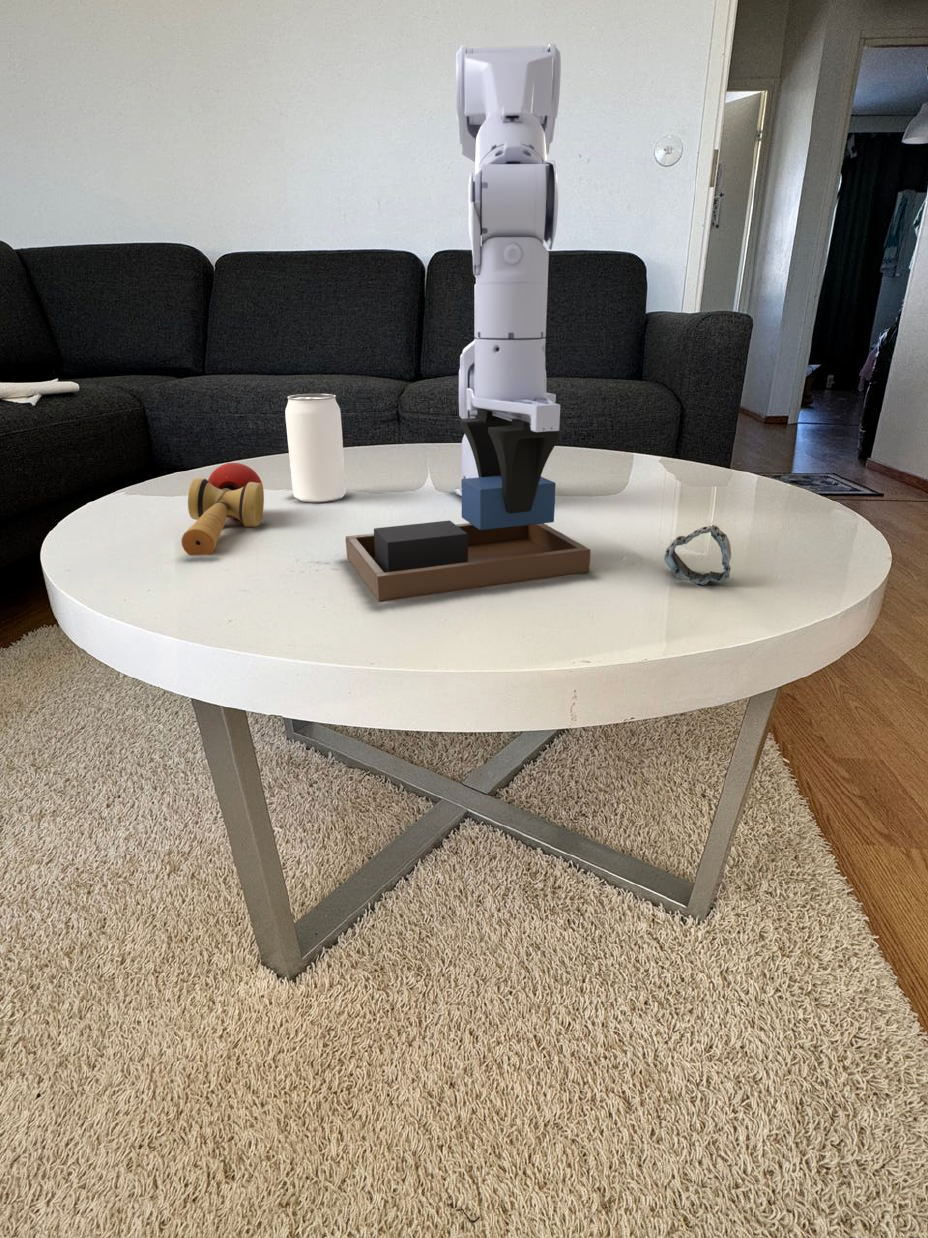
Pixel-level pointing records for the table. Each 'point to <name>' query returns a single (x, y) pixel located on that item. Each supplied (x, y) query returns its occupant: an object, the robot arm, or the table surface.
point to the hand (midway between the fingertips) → (506, 504)
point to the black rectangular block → (420, 546)
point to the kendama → (222, 505)
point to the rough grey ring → (687, 574)
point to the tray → (476, 562)
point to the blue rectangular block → (489, 509)
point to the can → (315, 447)
